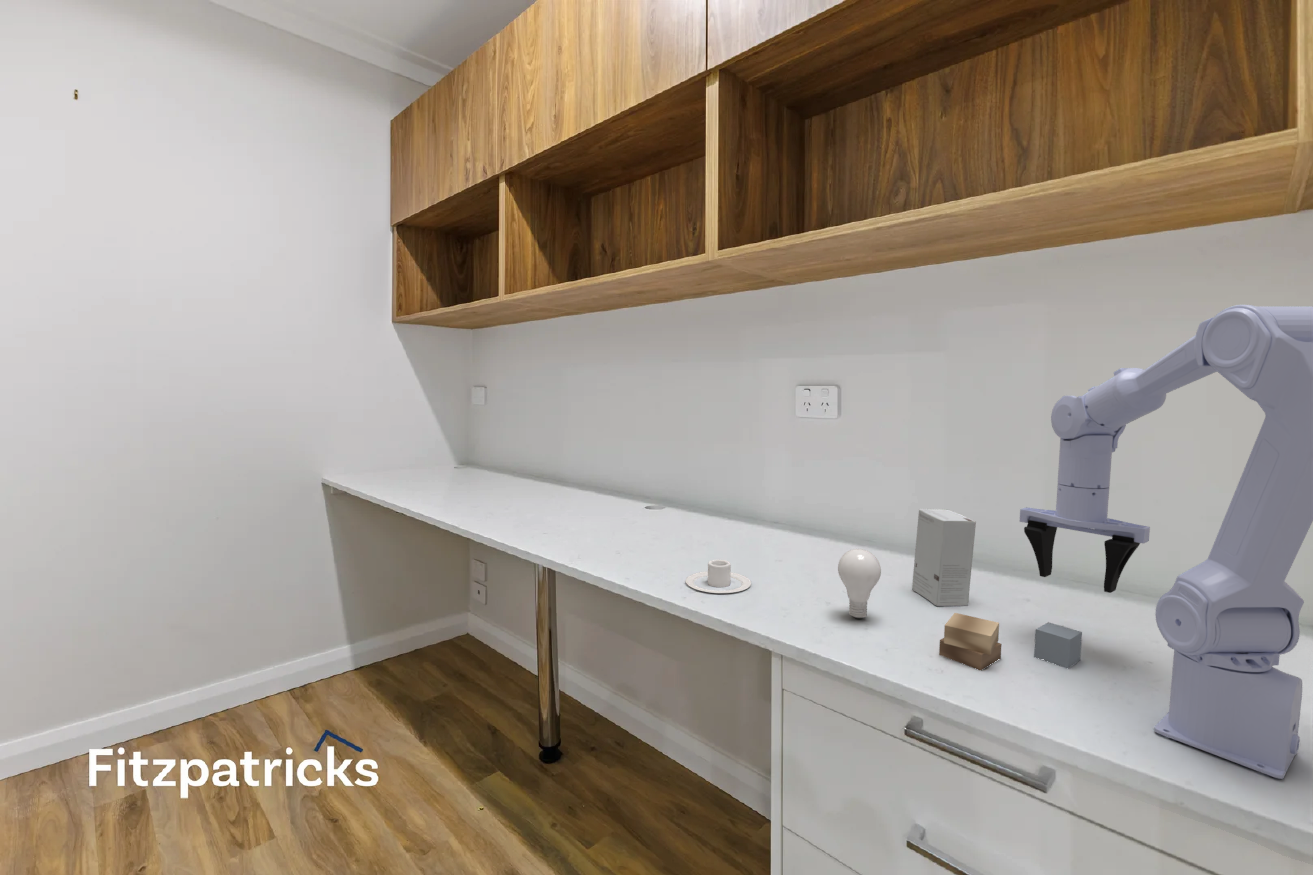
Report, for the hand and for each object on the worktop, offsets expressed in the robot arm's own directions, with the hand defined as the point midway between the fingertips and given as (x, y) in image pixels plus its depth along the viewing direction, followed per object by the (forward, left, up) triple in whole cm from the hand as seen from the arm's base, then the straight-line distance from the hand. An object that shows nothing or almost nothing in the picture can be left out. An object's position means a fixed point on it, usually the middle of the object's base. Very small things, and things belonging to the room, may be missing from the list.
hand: (1076, 582), depth 81 cm
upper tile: (+7, +14, -7) cm, 17 cm away
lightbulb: (+24, +15, -10) cm, 30 cm away
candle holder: (+49, +22, -10) cm, 55 cm away
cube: (0, +5, -10) cm, 11 cm away
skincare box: (+21, -4, -10) cm, 23 cm away
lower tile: (+7, +14, -10) cm, 19 cm away
